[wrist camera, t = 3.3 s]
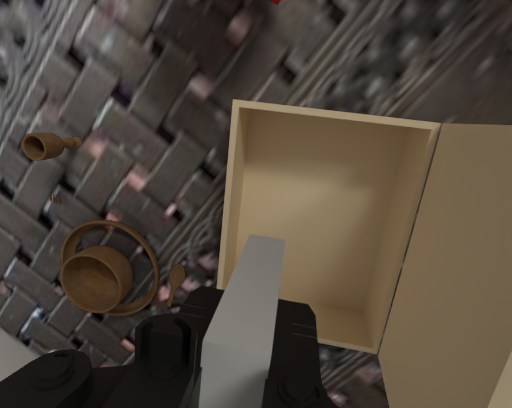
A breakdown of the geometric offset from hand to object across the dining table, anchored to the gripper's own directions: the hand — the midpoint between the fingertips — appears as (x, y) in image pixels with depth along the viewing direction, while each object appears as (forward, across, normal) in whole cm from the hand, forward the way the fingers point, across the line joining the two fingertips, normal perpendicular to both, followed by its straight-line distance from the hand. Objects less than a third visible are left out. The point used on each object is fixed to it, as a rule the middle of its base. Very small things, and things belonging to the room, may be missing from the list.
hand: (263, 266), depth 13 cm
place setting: (+19, -18, -9) cm, 28 cm away
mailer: (+18, +3, -3) cm, 19 cm away
